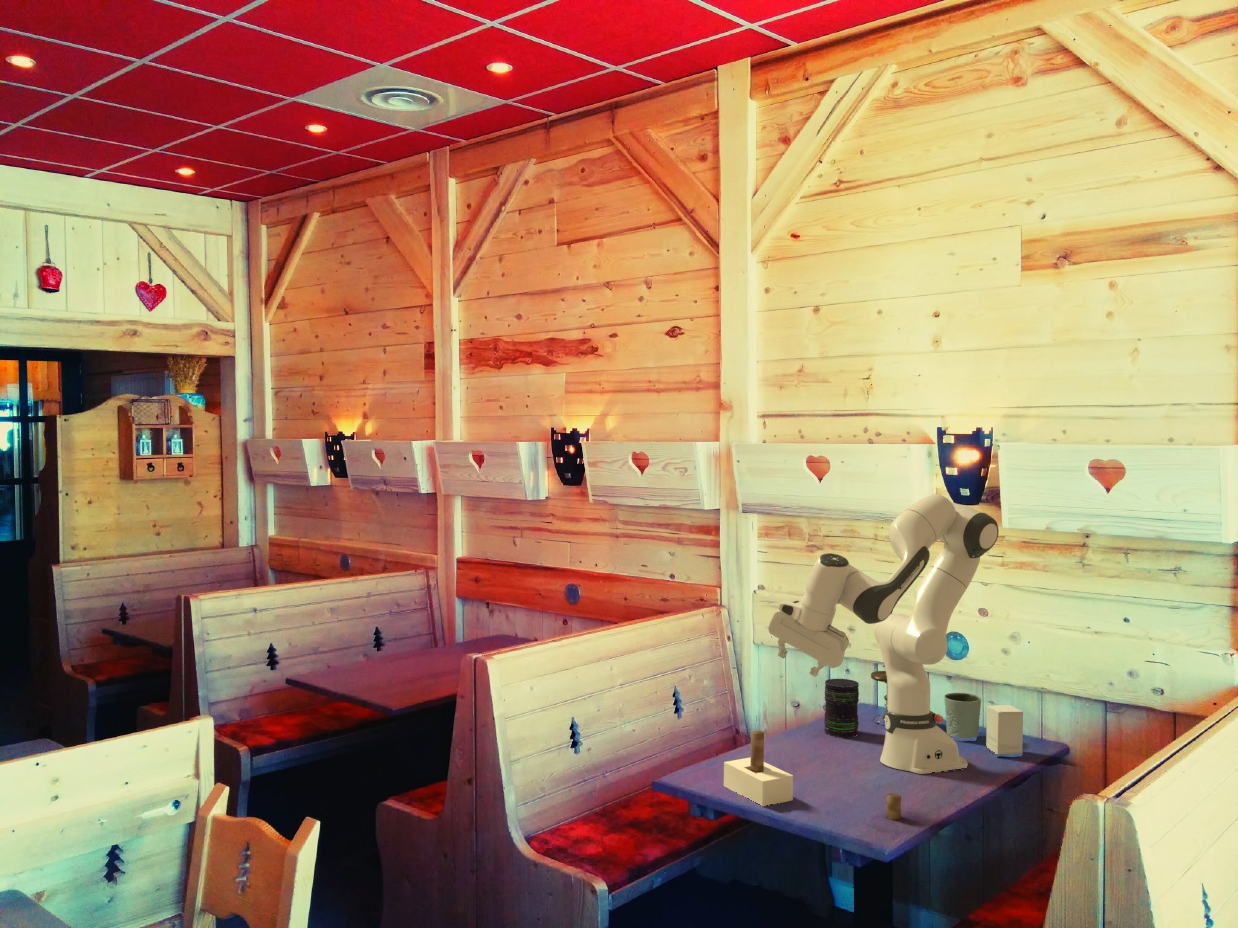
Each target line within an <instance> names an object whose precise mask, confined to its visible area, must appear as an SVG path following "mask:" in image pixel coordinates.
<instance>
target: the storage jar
mask: <svg viewBox="0 0 1238 928" xmlns="http://www.w3.org/2000/svg"><path fill="white" fill-rule="evenodd" d="M824 685H825V686H824V701H825V712H824V720H823V724H824V731H825V732H824V734H825V733H826V734H825V735H827V734H829V735H830V736H829V735H828V736H829V737H832V736H835V737H834V738H837V737H852V738H855V737H854V736H856V735H857V734H858V735H859V732H858V730H859V714H858V705H859V704H858V703H859V702H860V701H859V700H860V699H859V695H860V691H859V690H860V689H859V686H860V684H859V682H858V681H856V680H853V679H849V678H830V679H826V680H825V681H824ZM858 735H857V736H858ZM857 736H856V737H857Z"/></svg>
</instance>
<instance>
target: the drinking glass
mask: <svg viewBox="0 0 1238 928" xmlns="http://www.w3.org/2000/svg"><path fill="white" fill-rule="evenodd" d="M943 698H944V705H945V719H946V720H945V721H946V722H945V723H946V733H947V734H949V735H950V736H953V737H959V738H972V737H977V736H978V737H979V730H980V729H979V728H980V716H981V706H982V698H981V697H980V696H979V695H976V694H972V693H966V692H950V693H949V692H948V693H946V694H944V696H943Z"/></svg>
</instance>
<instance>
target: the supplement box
mask: <svg viewBox="0 0 1238 928" xmlns="http://www.w3.org/2000/svg"><path fill="white" fill-rule="evenodd" d="M1023 734H1024V711H1022V710H1020V709H1019V708H1017V707H1015V706H1013V705H1011V704H1004V705H1003V704H1001V705H1000V704H999V705H998V704H997V705H996V704H995V705H987V706H986V735H985V736H986V738H985V739H986V740H985V744H986V745H985V747H986V746H987V748H989V749H990V750H991V751H993V752H995V754H1015V753H1022V754H1023V750H1024V749H1023V747H1024V746H1023V742H1024V740H1023V739H1024V738H1023V736H1024V735H1023Z"/></svg>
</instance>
